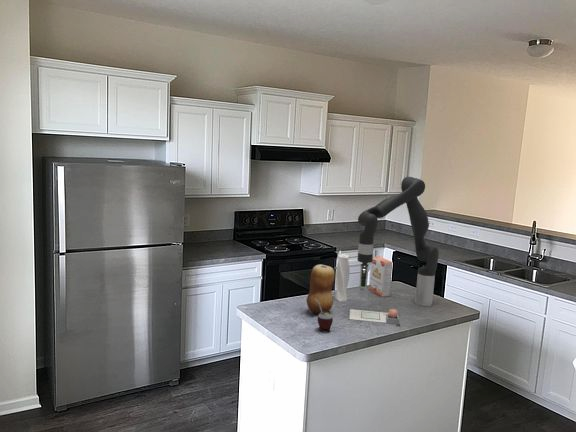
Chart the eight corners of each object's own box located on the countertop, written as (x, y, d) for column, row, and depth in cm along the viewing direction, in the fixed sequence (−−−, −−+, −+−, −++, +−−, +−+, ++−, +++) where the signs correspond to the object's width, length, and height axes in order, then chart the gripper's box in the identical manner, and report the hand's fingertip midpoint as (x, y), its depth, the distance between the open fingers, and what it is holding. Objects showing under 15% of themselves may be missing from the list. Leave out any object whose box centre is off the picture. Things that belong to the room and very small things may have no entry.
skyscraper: (331, 299, 266) (334, 250, 262) (342, 298, 270) (345, 249, 265) (338, 303, 259) (341, 253, 255) (350, 302, 262) (353, 253, 258)
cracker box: (368, 290, 287) (371, 256, 284) (377, 289, 289) (380, 256, 286) (381, 297, 274) (384, 262, 271) (390, 296, 276) (393, 261, 273)
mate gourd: (335, 330, 222) (337, 299, 219) (324, 334, 216) (326, 303, 214) (322, 325, 227) (324, 295, 224) (312, 329, 221) (313, 298, 219)
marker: (359, 288, 244) (360, 268, 242) (366, 288, 243) (368, 269, 242) (358, 290, 240) (360, 270, 239) (366, 291, 240) (367, 271, 238)
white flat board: (349, 310, 250) (349, 303, 250) (397, 314, 246) (397, 308, 246) (348, 320, 234) (348, 314, 234) (399, 326, 231) (400, 319, 230)
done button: (388, 314, 236) (388, 308, 235) (396, 315, 235) (397, 309, 235) (388, 317, 232) (389, 311, 232) (397, 317, 231) (397, 312, 231)
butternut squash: (330, 319, 235) (333, 270, 232) (303, 316, 238) (306, 267, 234) (333, 310, 249) (336, 263, 245) (308, 307, 251) (311, 261, 248)
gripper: (373, 256, 231) (370, 290, 234) (373, 249, 245) (370, 282, 248) (357, 254, 233) (355, 288, 235) (358, 248, 246) (356, 280, 249)
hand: (363, 285), depth 241 cm, fingers closed on marker, 3 cm apart
